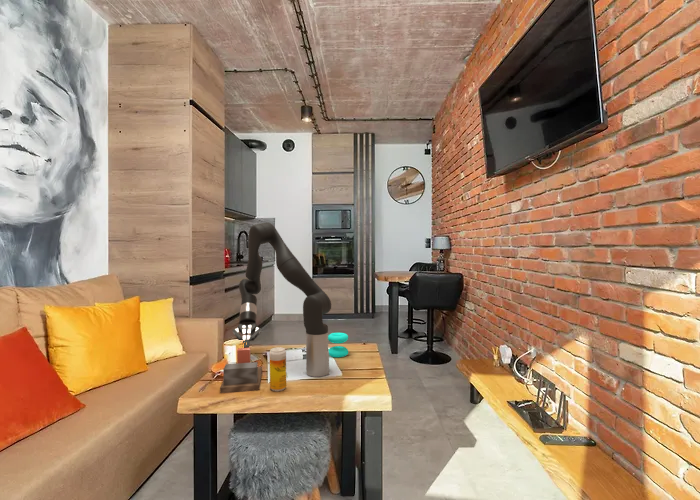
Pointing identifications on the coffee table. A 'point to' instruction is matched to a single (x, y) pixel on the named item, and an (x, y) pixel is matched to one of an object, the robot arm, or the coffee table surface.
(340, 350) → the donuts
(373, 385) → the coffee table surface
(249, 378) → the grey and brown block
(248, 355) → the reddish brown block
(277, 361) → the beer glass
